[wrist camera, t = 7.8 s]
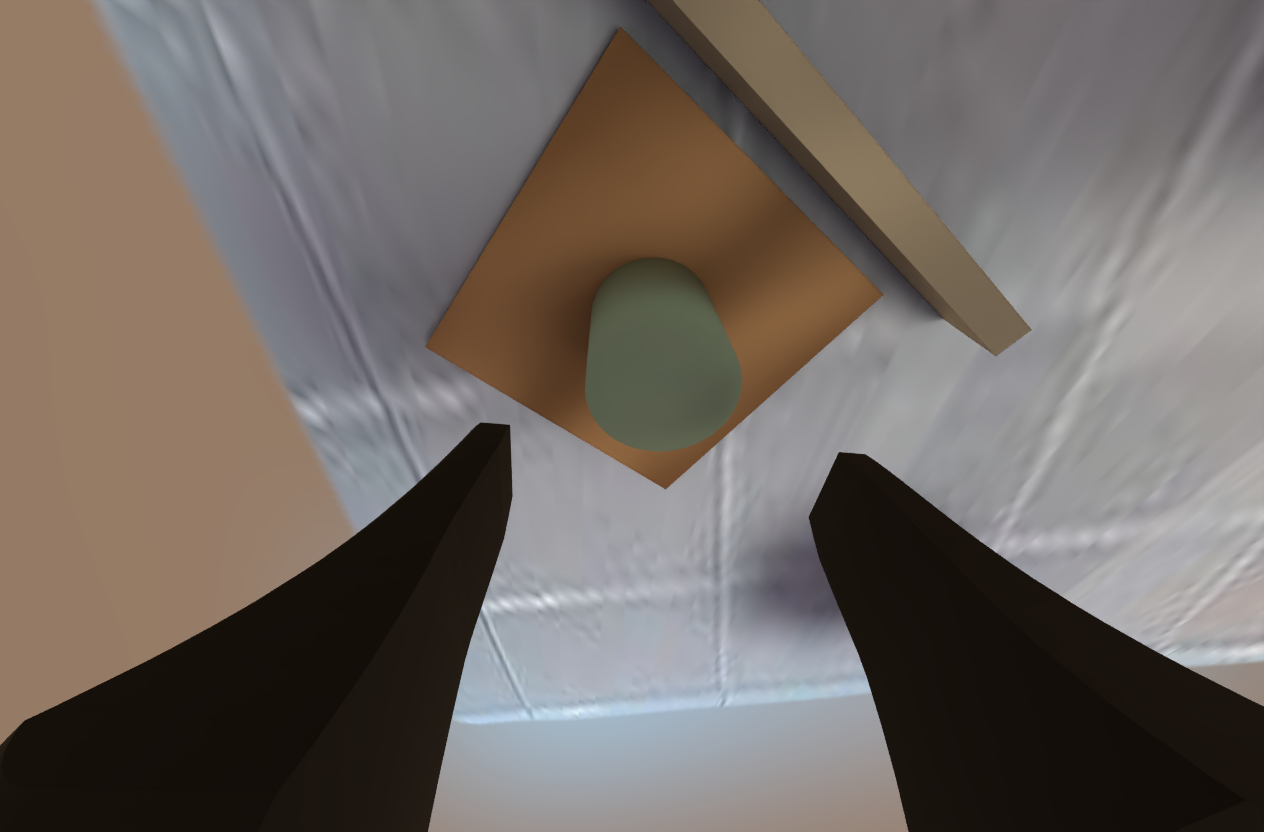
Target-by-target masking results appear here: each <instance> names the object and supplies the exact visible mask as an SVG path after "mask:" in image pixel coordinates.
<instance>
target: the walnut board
mask: <svg viewBox="0 0 1264 832" xmlns="http://www.w3.org/2000/svg"><path fill="white" fill-rule="evenodd" d="M644 258H664V259H668V260H672V261H675V262H678V263H680V264H682V265H684V266H685V267H687V268H688V269H690V270H691V271H692V272H693V273H694V274H696V275H697V276H698V278H699V279H700V280H701V282H702V283H703V284H704V286H705V288H706V290H707V292H708V294H709V296H710V299H711V301H712V303H713V305H714V307H715V310H716V312H717V314H718V316H719V318H720V321H721V323H722V325H723V327H724V329H725V331H726V334H727V336H728V338H729V340H730V342H731V345H732V347H733V349H734V351H735V353H736V356H737V358H738V361H739V363H740V367H741V372H742V388H741V394H740V397H739V401H738V403H737V405H736V408H735V409H734V411H733V413H732V415H731V416H730V417H729V419H728V420H727V421H726V422H725V423H724V424H723V426H722V427H721V428H720V429H718V430H717V431H716V432H715V433H713V434H712V435H711V436H709V437H708V438H706V439H704V440H702V441H700V442H698V443H696V444H694V445H691V446H689V447H686V448H682V449H678V450H672V451H646V450H640V449H636V448H633V447H630V446H627V445H625V444H622V443H621V442H619V441H617V440H615V439H614V438H612V437H611V436H609V435H608V434H607V433H606V432H605V431H603V430H602V429H601V427H600V426H599V425H598V424H597V423H596V421H595V420H594V418H593V416H592V415H591V412H590V410H589V408H588V405H587V401H586V395H585V380H586V369H587V357H588V346H589V334H590V322H591V311H592V305H593V301H594V298H595V295H596V293H597V291H598V289H599V287H600V286H601V285H602V283H603V282H604V281H605V279H606V278H607V277H608V276H609V275H610V274H611V273H613V272H614V271H615V270H616V269H618V268H620V267H621V266H623V265H625V264H627V263H629V262H632V261H635V260H638V259H644ZM881 296H883V294H882V293H881V292H880V291H879V290H878V289H877V288H876V287H875V286H874V285H873V284H872V283H871V282H870V281H869V280H868V279H867V277H866V276H865V275H864V274H863V273H862V272H861V271H860V270H859V269H858V268H857V267H856V266H855V265H854V264H853V263H852V262H851V261H850V260H849V259H848V258H847V257H846V256H845V255H844V254H843V253H842V252H841V251H840V250H839V249H838V248H837V247H836V246H835V245H834V244H833V243H832V242H831V241H830V240H829V239H828V238H827V237H826V236H825V235H824V234H823V233H822V232H821V231H820V230H819V229H818V228H817V227H816V226H815V224H814V223H813V222H812V221H811V220H810V219H809V218H808V217H807V216H806V215H805V214H804V213H803V212H802V211H801V210H800V209H799V208H798V207H797V206H796V205H795V204H794V203H793V202H792V201H791V200H790V199H789V198H788V197H787V196H786V195H785V194H784V193H783V192H782V191H781V190H780V189H779V188H778V187H777V186H776V185H775V184H774V183H773V182H772V181H771V180H770V179H769V178H768V177H767V176H766V175H765V174H764V173H763V171H762V170H761V169H760V168H759V167H758V166H757V165H756V164H755V163H754V162H753V161H752V160H751V159H750V158H749V157H748V156H747V155H746V154H745V153H744V152H743V151H742V150H741V149H740V148H739V147H738V146H737V145H736V144H735V143H734V142H733V141H732V140H731V139H730V138H729V137H728V136H727V135H726V134H725V133H724V132H723V131H722V130H721V129H720V128H719V127H718V126H717V125H716V124H715V123H714V122H713V121H712V120H711V118H710V117H709V116H708V115H707V114H706V113H705V112H704V111H703V110H702V109H701V108H700V107H699V106H698V105H697V104H696V103H695V102H694V101H693V100H692V99H691V98H690V97H689V96H688V95H687V94H686V93H685V92H684V91H683V90H682V89H681V88H680V87H679V86H678V85H677V84H676V83H675V82H674V81H673V80H672V79H671V78H670V77H669V76H668V75H667V74H666V73H665V72H664V71H663V70H662V69H661V68H660V67H659V65H658V64H657V63H656V62H655V61H654V60H653V59H652V58H651V57H650V56H649V55H648V54H647V53H646V52H645V51H644V50H643V49H642V48H641V47H640V46H639V45H638V44H637V43H636V42H635V41H634V40H633V39H632V38H631V37H630V36H629V35H628V34H627V33H626V32H625V31H624V30H623V29H622V28H621V27H620V28H619V30H618V32H617V33H616V35H615V37H614V38H613V40H612V41H611V43H610V45H609V46H608V48H607V50H606V51H605V53H604V55H603V56H602V58H601V60H600V61H599V63H598V64H597V66H596V68H595V69H594V71H593V73H592V74H591V76H590V78H589V79H588V81H587V82H586V84H585V86H584V87H583V89H582V91H581V92H580V94H579V96H578V97H577V99H576V101H575V102H574V104H573V105H572V107H571V109H570V110H569V112H568V114H567V115H566V117H565V119H564V120H563V122H562V123H561V125H560V127H559V128H558V130H557V132H556V133H555V135H554V137H553V138H552V140H551V141H550V143H549V145H548V146H547V148H546V150H545V151H544V153H543V155H542V156H541V158H540V160H539V161H538V163H537V164H536V166H535V168H534V169H533V171H532V173H531V174H530V176H529V178H528V179H527V181H526V182H525V184H524V186H523V187H522V189H521V191H520V192H519V194H518V196H517V197H516V199H515V200H514V202H513V204H512V205H511V207H510V209H509V210H508V212H507V214H506V215H505V217H504V219H503V220H502V222H501V223H500V225H499V227H498V228H497V230H496V232H495V233H494V235H493V237H492V238H491V240H490V241H489V243H488V245H487V246H486V248H485V250H484V251H483V253H482V255H481V256H480V258H479V260H478V261H477V263H476V264H475V266H474V268H473V269H472V271H471V273H470V274H469V276H468V278H467V279H466V281H465V282H464V284H463V286H462V287H461V289H460V291H459V292H458V294H457V296H456V297H455V299H454V300H453V302H452V304H451V305H450V307H449V309H448V310H447V312H446V314H445V315H444V317H443V319H442V320H441V322H440V323H439V325H438V327H437V328H436V330H435V332H434V333H433V335H432V337H431V338H430V340H429V341H428V343H427V345H426V346H425V347H426V348H428V349H430V350H431V351H433V352H435V353H436V354H438V355H440V356H442V357H443V358H445V359H447V360H448V361H450V362H452V363H453V364H455V365H457V366H458V367H460V368H462V369H463V370H465V371H467V372H469V373H470V374H472V375H474V376H475V377H477V378H479V379H480V380H482V381H484V382H485V383H487V384H489V385H490V386H492V387H494V388H496V389H497V390H499V391H501V392H502V393H504V394H506V395H507V396H509V397H511V398H512V399H514V400H516V401H518V402H519V403H521V404H523V405H524V406H526V407H528V408H529V409H531V410H533V411H534V412H536V413H538V414H539V415H541V416H543V417H545V418H546V419H548V420H550V421H551V422H553V423H555V424H556V425H558V426H560V427H561V428H563V429H565V430H566V431H568V432H570V433H572V434H573V435H575V436H577V437H578V438H580V439H582V440H583V441H585V442H587V443H588V444H590V445H592V446H593V447H595V448H597V449H599V450H600V451H602V452H604V453H605V454H607V455H609V456H610V457H612V458H614V459H615V460H617V461H619V462H620V463H622V464H624V465H626V466H627V467H629V468H631V469H632V470H634V471H636V472H637V473H639V474H641V475H642V476H644V477H646V478H647V479H649V480H651V481H653V482H654V483H656V484H658V485H659V486H661V487H663V488H664V489H667V488H668V487H669V486H670V485H671V484H672V483H673V482H674V481H676V480H677V479H678V478H679V477H680V476H681V475H682V474H683V473H684V472H686V471H687V470H688V469H689V468H690V467H691V466H692V465H693V464H695V463H696V462H697V461H698V460H699V459H700V458H701V457H702V456H704V455H705V454H706V453H707V452H708V451H709V450H710V449H711V448H712V447H714V446H715V445H716V444H717V443H718V442H719V441H720V440H721V439H723V438H724V437H725V436H726V435H727V434H728V433H729V432H730V431H731V430H733V429H734V428H735V427H736V426H737V425H738V424H739V423H740V422H742V421H743V420H744V419H745V418H746V417H747V416H748V415H749V414H751V413H752V412H753V411H754V410H755V409H756V408H757V407H758V406H759V405H761V404H762V403H763V402H764V401H765V400H766V399H767V398H768V397H770V396H771V395H772V394H773V393H774V392H775V391H776V390H777V389H778V388H780V387H781V386H782V385H783V384H784V383H785V382H786V381H787V380H789V379H790V378H791V377H792V376H793V375H794V374H795V373H796V372H797V371H799V370H800V369H801V368H802V367H803V366H804V365H805V364H806V363H808V362H809V361H810V360H811V359H812V358H813V357H814V356H815V355H817V354H818V353H819V352H820V351H821V350H822V349H823V348H824V347H825V346H827V345H828V344H829V343H830V342H831V341H832V340H833V339H834V338H836V337H837V336H838V335H839V334H840V333H841V332H842V331H843V330H844V329H846V328H847V327H848V326H849V325H850V324H851V323H852V322H853V321H855V320H856V319H857V318H858V317H859V316H860V315H861V314H862V313H863V312H865V311H866V310H867V309H868V308H869V307H870V306H871V305H872V304H874V303H875V302H876V301H877V300H878V299H879V298H880V297H881Z"/></svg>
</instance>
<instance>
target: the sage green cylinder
mask: <svg viewBox="0 0 1264 832" xmlns="http://www.w3.org/2000/svg"><path fill="white" fill-rule="evenodd" d="M741 388H742V372H741V367H740V363H739V361H738V358H737V356H736V353H735V351H734V349H733V347H732V345H731V342H730V340H729V338H728V336H727V334H726V331H725V329H724V327H723V325H722V323H721V321H720V318H719V316H718V314H717V312H716V310H715V307H714V305H713V303H712V301H711V299H710V296H709V294H708V292H707V290H706V288H705V286H704V284H703V283H702V282H701V280H700V279H699V278H698V276H697V275H696V274H694V273H693V272H692V271H691V270H690V269H688V268H687V267H685V266H684V265H682V264H680V263H678V262H675V261H672V260H668V259H664V258H644V259H638V260H635V261H632V262H629V263H627V264H625V265H623V266H621V267H620V268H618V269H616V270H615V271H614V272H613V273H611V274H610V275H609V276H608V277H607V278H606V279H605V281H604V282H603V283H602V285H601V286H600V287H599V289H598V291H597V293H596V295H595V298H594V301H593V305H592V311H591V322H590V334H589V346H588V357H587V369H586V380H585V395H586V401H587V405H588V408H589V410H590V412H591V415H592V416H593V418H594V420H595V421H596V423H597V424H598V425H599V426H600V427H601V429H602V430H603V431H605V432H606V433H607V434H608V435H609V436H611V437H612V438H614V439H615V440H617V441H619V442H621V443H622V444H625V445H627V446H630V447H633V448H636V449H640V450H646V451H672V450H678V449H682V448H686V447H689V446H691V445H694V444H696V443H698V442H700V441H702V440H704V439H706V438H708V437H709V436H711V435H712V434H713V433H715V432H716V431H717V430H718V429H720V428H721V427H722V426H723V424H724V423H725V422H726V421H727V420H728V419H729V417H730V416H731V415H732V413H733V411H734V409H735V408H736V405H737V403H738V401H739V397H740V394H741Z"/></svg>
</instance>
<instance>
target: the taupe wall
mask: <svg viewBox="0 0 1264 832" xmlns="http://www.w3.org/2000/svg"><path fill="white" fill-rule="evenodd" d="M647 1H648V2H649V3H650V4H651V6H652V7H653V8H654V9H655V10H656V11H657V12H658V13H659V14H660V15H661V16H662V17H663V18H664V19H665V21H666V22H667V23H668V24H669V25H670V26H671V27H672V28H673V29H674V30H675V31H676V32H677V33H678V34H679V36H680V37H681V38H682V39H683V40H684V41H685V42H686V43H687V44H688V45H689V46H690V47H691V48H692V49H693V51H694V52H695V53H696V54H697V55H698V56H699V57H700V58H701V59H702V60H703V61H704V62H705V63H706V65H707V66H708V67H709V68H710V69H711V70H712V71H713V72H714V73H715V74H716V75H717V76H718V77H719V78H720V80H721V81H722V82H723V83H724V84H725V85H726V86H727V87H728V88H729V89H730V90H731V91H732V92H733V93H734V95H735V96H736V97H737V98H738V99H739V100H740V101H741V102H742V103H743V104H744V105H745V106H746V107H747V108H748V110H749V111H750V112H751V113H752V114H753V115H754V116H755V117H756V118H757V119H758V120H759V121H760V122H761V123H762V125H763V126H764V127H765V128H766V129H767V130H768V131H769V132H770V133H771V134H772V135H773V136H774V137H775V139H776V140H777V141H778V142H779V143H780V144H781V145H782V146H783V147H784V148H785V149H786V150H787V151H788V152H789V154H790V155H791V156H792V157H793V158H794V159H795V160H796V161H797V162H798V163H799V164H800V165H801V166H802V167H803V169H804V170H805V171H806V172H807V173H808V174H809V175H810V176H811V177H812V178H813V179H814V180H815V181H816V182H817V184H818V185H819V186H820V187H821V188H822V189H823V190H824V191H825V192H826V193H827V194H828V195H829V196H830V198H831V199H832V200H833V201H834V202H835V203H836V204H837V205H838V206H839V207H840V208H841V209H842V210H843V211H844V213H845V214H846V215H847V216H848V217H849V218H850V219H851V220H852V221H853V222H854V223H855V224H856V225H857V226H858V228H859V229H860V230H861V231H862V232H863V233H864V234H865V235H866V236H867V237H868V238H869V239H870V240H871V241H872V243H873V244H874V245H875V246H876V247H877V248H878V249H879V250H880V251H881V252H882V253H883V254H884V255H885V256H886V258H887V259H888V260H889V261H890V262H891V263H892V264H893V265H894V266H895V267H896V268H897V269H898V270H899V272H900V273H901V274H902V275H903V276H904V277H905V278H906V279H907V280H908V281H909V282H910V283H911V284H912V285H913V287H914V288H915V289H916V290H917V291H918V292H919V293H920V294H921V295H922V296H923V297H924V298H925V299H926V300H927V302H928V303H929V304H930V305H931V306H932V307H933V308H934V309H935V310H936V311H937V312H938V313H939V314H940V315H941V317H942V318H943V319H944V320H945V321H947V322H948V323H950V324H951V325H952V326H954V327H955V328H957V329H958V330H960V331H961V332H962V333H964V334H965V335H967V336H968V337H969V338H971V339H972V340H974V341H975V342H976V343H978V344H979V345H981V346H982V347H983V348H985V349H986V350H988V351H989V352H990V353H992V354H993V355H995V356H997V355H998V354H1000V353H1001V352H1002V351H1004V350H1005V349H1006V348H1008V347H1009V346H1010V345H1012V344H1013V343H1014V342H1016V341H1017V340H1018V339H1020V338H1021V337H1023V336H1024V335H1025V334H1027V333H1028V332H1029V331H1031V328H1030V327H1029V326H1028V325H1027V324H1026V322H1025V321H1024V320H1023V319H1022V318H1021V316H1020V315H1019V314H1018V313H1017V312H1016V310H1015V309H1014V308H1013V307H1012V305H1011V304H1010V303H1009V302H1008V301H1007V299H1006V298H1005V297H1004V296H1003V295H1002V293H1001V292H1000V291H999V290H998V289H997V287H996V286H995V285H994V284H993V283H992V281H991V280H990V279H989V278H988V276H987V275H986V274H985V273H984V272H983V270H982V269H981V268H980V267H979V266H978V264H977V263H976V262H975V261H974V260H973V258H972V257H971V256H970V255H969V253H968V252H967V251H966V250H965V249H964V247H963V246H962V245H961V244H960V243H959V241H958V240H957V239H956V238H955V237H954V235H953V234H952V233H951V232H950V231H949V229H948V228H947V227H946V226H945V224H944V223H943V222H942V221H941V220H940V218H939V217H938V216H937V215H936V214H935V212H934V211H933V210H932V209H931V208H930V206H929V205H928V204H927V203H926V201H925V200H924V199H923V198H922V197H921V195H920V194H919V193H918V192H917V191H916V189H915V188H914V187H913V186H912V185H911V183H910V182H909V181H908V180H907V179H906V177H905V176H904V175H903V174H902V172H901V171H900V170H899V169H898V168H897V166H896V165H895V164H894V163H893V162H892V160H891V159H890V158H889V157H888V156H887V154H886V153H885V152H884V151H883V149H882V148H881V147H880V146H879V145H878V143H877V142H876V141H875V140H874V139H873V137H872V136H871V135H870V134H869V133H868V131H867V130H866V129H865V128H864V127H863V125H862V124H861V123H860V122H859V120H858V119H857V118H856V117H855V116H854V114H853V113H852V112H851V111H850V110H849V108H848V107H847V106H846V105H845V104H844V102H843V101H842V100H841V99H840V97H839V96H838V95H837V94H836V93H835V91H834V90H833V89H832V88H831V87H830V85H829V84H828V83H827V82H826V81H825V79H824V78H823V77H822V76H821V75H820V73H819V72H818V71H817V70H816V68H815V67H814V66H813V65H812V64H811V62H810V61H809V60H808V59H807V58H806V56H805V55H804V54H803V53H802V52H801V50H800V49H799V48H798V47H797V45H796V44H795V43H794V42H793V41H792V39H791V38H790V37H789V36H788V35H787V33H786V32H785V31H784V30H783V29H782V27H781V26H780V25H779V24H778V23H777V21H776V20H775V19H774V18H773V16H772V15H771V14H770V13H769V12H768V10H767V9H766V8H765V7H764V6H763V4H762V3H761V2H760V1H759V0H647Z"/></svg>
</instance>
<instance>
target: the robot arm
mask: <svg viewBox="0 0 1264 832" xmlns="http://www.w3.org/2000/svg"><path fill="white" fill-rule="evenodd" d="M511 501H512V467H511V439H510V425H505V424H493V423H479V424H478V425H477V426H475V427H474V428H473V429H472V430H471V432H470V433H469V434H468V435H467V436H466V437H465V438H464V439H463V440H462V441H461V442H460V443H459V444H458V445H457V446H456V447H455V448H454V449H453V450H452V451H451V452H450V453H449V454H448V455H447V456H446V457H445V458H444V459H443V460H442V461H441V462H440V463H439V464H438V465H437V466H435V467H434V468H433V469H432V470H431V471H430V472H429V473H428V474H427V475H426V476H425V477H424V478H423V479H422V480H420V481H419V482H418V483H417V484H416V485H415V486H414V487H413V488H412V489H411V490H410V491H408V492H407V493H406V494H405V495H404V496H403V497H401V498H400V499H399V500H398V501H397V502H395V503H394V504H393V505H392V506H391V507H389V508H388V509H387V510H386V511H385V512H384V513H382V514H381V515H380V516H379V517H378V518H376V519H375V520H374V521H373V522H371V523H370V524H369V525H367V526H366V527H365V528H364V529H362V530H361V531H360V532H358V533H357V534H356V535H354V536H353V537H352V538H350V539H349V540H348V541H346V542H345V543H344V544H342V545H341V546H339V547H338V548H337V549H335V550H334V551H332V552H331V553H330V554H328V555H327V556H325V557H324V558H323V559H321V560H320V561H318V562H317V563H315V564H314V565H312V566H311V567H309V568H307V569H306V570H304V571H303V572H301V573H300V574H298V575H297V576H295V577H293V578H292V579H290V580H289V581H287V582H285V583H284V584H282V585H281V586H279V587H278V588H276V589H274V590H273V591H271V592H270V593H268V594H266V595H265V596H263V597H262V598H260V599H259V600H257V601H255V602H254V603H252V604H250V605H248V606H247V607H245V608H243V609H242V610H240V611H238V612H237V613H234V614H233V615H231V616H229V617H228V618H226V619H224V620H222V621H220V622H219V623H217V624H215V625H213V626H212V627H210V628H208V629H206V630H204V631H203V632H201V633H199V634H197V635H195V636H193V637H191V638H190V639H188V640H186V641H184V642H182V643H180V644H179V645H177V646H175V647H173V648H171V649H169V650H167V651H165V652H163V653H161V654H160V655H158V656H156V657H154V658H152V659H150V660H148V661H146V662H144V663H142V664H140V665H138V666H136V667H134V668H132V669H130V670H128V671H126V672H124V673H122V674H120V675H118V676H116V677H114V678H112V679H110V680H108V681H106V682H104V683H102V684H100V685H97V686H96V687H94V688H92V689H89V690H88V691H85V692H83V693H81V694H79V695H77V696H75V697H73V698H71V699H69V700H67V701H65V702H63V703H61V704H59V705H57V706H55V707H53V708H51V709H49V710H46V711H44V712H42V713H40V714H38V715H36V716H33V717H32V718H29V719H27V720H25V721H24V722H23V723H22V724H21V725H20V726H19V727H18V728H17V729H16V730H15V731H14V732H13V733H12V734H11V735H10V736H9V737H8V738H7V739H6V740H5V741H4V742H3V743H2V744H1V745H0V832H428V828H429V823H430V818H431V813H432V808H433V804H434V799H435V794H436V789H437V784H438V779H439V774H440V770H441V765H442V760H443V756H444V751H445V746H446V742H447V737H448V733H449V728H450V724H451V719H452V715H453V710H454V706H455V701H456V697H457V693H458V688H459V684H460V680H461V675H462V671H463V667H464V662H465V658H466V655H467V651H468V648H469V644H470V641H471V637H472V634H473V631H474V628H475V625H476V622H477V619H478V616H479V613H480V610H481V607H482V604H483V601H484V598H485V595H486V592H487V589H488V586H489V583H490V580H491V577H492V574H493V571H494V568H495V565H496V562H497V558H498V555H499V552H500V549H501V546H502V543H503V540H504V536H505V531H506V526H507V521H508V517H509V511H510V506H511ZM809 520H810V524H811V528H812V533H813V537H814V541H815V545H816V548H817V552H818V555H819V559H820V562H821V564H822V567H823V569H824V572H825V574H826V577H827V579H828V582H829V584H830V587H831V589H832V592H833V594H834V596H835V599H836V601H837V604H838V606H839V608H840V611H841V613H842V616H843V618H844V621H845V623H846V625H847V628H848V630H849V633H850V635H851V637H852V640H853V642H854V645H855V647H856V649H857V652H858V654H859V657H860V660H861V662H862V665H863V668H864V671H865V673H866V676H867V679H868V682H869V686H870V689H871V692H872V695H873V699H874V702H875V705H876V709H877V712H878V715H879V719H880V722H881V725H882V729H883V732H884V736H885V740H886V744H887V747H888V751H889V755H890V758H891V762H892V766H893V769H894V773H895V777H896V781H897V785H898V789H899V793H900V797H901V802H902V806H903V810H904V814H905V819H906V823H907V827H908V831H909V832H1264V706H1262V705H1260V704H1257V703H1255V702H1253V701H1251V700H1249V699H1247V698H1245V697H1243V696H1241V695H1239V694H1237V693H1235V692H1233V691H1231V690H1229V689H1227V688H1225V687H1223V686H1221V685H1219V684H1217V683H1215V682H1214V681H1211V680H1210V679H1208V678H1206V677H1204V676H1202V675H1199V674H1198V673H1196V672H1194V671H1192V670H1190V669H1188V668H1186V667H1184V666H1182V665H1180V664H1179V663H1177V662H1175V661H1173V660H1171V659H1169V658H1167V657H1165V656H1163V655H1162V654H1160V653H1158V652H1156V651H1154V650H1152V649H1150V648H1149V647H1147V646H1145V645H1143V644H1142V643H1140V642H1138V641H1136V640H1135V639H1133V638H1131V637H1129V636H1127V635H1126V634H1124V633H1122V632H1120V631H1119V630H1117V629H1115V628H1113V627H1112V626H1110V625H1108V624H1106V623H1104V622H1103V621H1101V620H1099V619H1098V618H1096V617H1094V616H1093V615H1091V614H1089V613H1088V612H1086V611H1084V610H1083V609H1081V608H1079V607H1078V606H1076V605H1074V604H1073V603H1071V602H1070V601H1068V600H1066V599H1065V598H1063V597H1062V596H1060V595H1059V594H1057V593H1055V592H1054V591H1052V590H1051V589H1049V588H1048V587H1046V586H1044V585H1043V584H1041V583H1040V582H1038V581H1037V580H1035V579H1033V578H1032V577H1030V576H1029V575H1027V574H1026V573H1024V572H1023V571H1021V570H1020V569H1019V568H1017V567H1016V566H1014V565H1013V564H1011V563H1010V562H1008V561H1007V560H1006V559H1004V558H1003V557H1001V556H1000V555H999V554H997V553H996V552H994V551H993V550H992V549H990V548H989V547H987V546H986V545H985V544H983V543H982V542H980V541H979V540H978V539H976V538H975V537H974V536H972V535H971V534H970V533H968V532H967V531H966V530H964V529H963V528H962V527H960V526H959V525H958V524H956V523H955V522H954V521H952V520H951V519H950V518H949V517H947V516H946V515H945V514H943V513H942V512H941V511H939V510H938V509H937V508H936V507H934V506H933V505H932V504H931V503H929V502H928V501H927V500H925V499H924V498H923V497H922V496H920V495H919V494H918V493H917V492H915V491H914V490H913V489H911V488H910V487H909V486H908V485H906V484H905V483H904V482H903V481H901V480H900V479H899V478H897V477H896V476H895V475H893V474H892V473H891V472H890V471H888V470H887V469H886V468H884V467H883V466H882V465H880V464H879V463H877V462H876V461H875V460H873V459H872V458H870V457H869V456H867V455H866V454H855V453H843V452H839V453H838V455H837V458H836V460H835V462H834V464H833V466H832V468H831V470H830V473H829V475H828V477H827V479H826V481H825V483H824V485H823V488H822V490H821V492H820V494H819V496H818V498H817V500H816V503H815V505H814V507H813V509H812V511H811V513H810V515H809Z"/></svg>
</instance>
